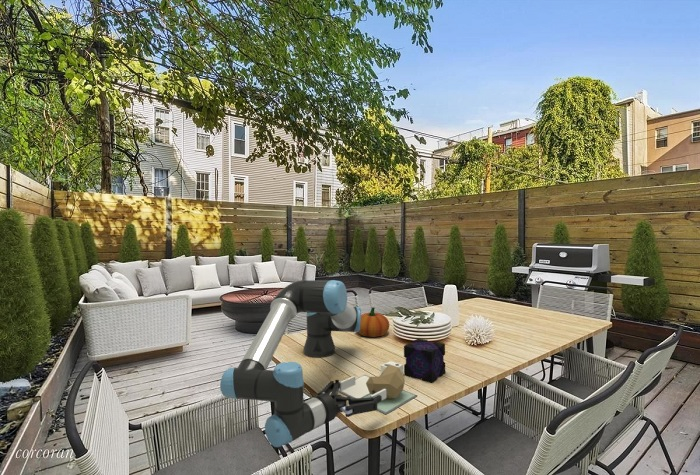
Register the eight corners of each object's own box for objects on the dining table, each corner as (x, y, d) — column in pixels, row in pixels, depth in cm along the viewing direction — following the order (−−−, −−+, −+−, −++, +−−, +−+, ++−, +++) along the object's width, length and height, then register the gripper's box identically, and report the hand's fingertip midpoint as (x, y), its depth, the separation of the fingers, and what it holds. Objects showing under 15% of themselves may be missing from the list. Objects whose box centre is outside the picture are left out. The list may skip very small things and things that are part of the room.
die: (380, 380, 133) (380, 364, 132) (390, 375, 137) (390, 360, 137) (393, 385, 128) (393, 369, 128) (402, 380, 132) (402, 364, 132)
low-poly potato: (405, 388, 125) (379, 369, 129) (415, 369, 119) (387, 350, 124) (386, 417, 113) (358, 395, 118) (396, 397, 108) (366, 375, 112)
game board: (333, 389, 125) (333, 388, 125) (365, 375, 137) (365, 374, 137) (385, 414, 107) (385, 413, 107) (417, 396, 119) (417, 395, 119)
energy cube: (418, 366, 146) (418, 338, 146) (445, 373, 138) (445, 343, 138) (404, 375, 137) (403, 345, 137) (432, 383, 129) (431, 352, 129)
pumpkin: (349, 332, 198) (349, 306, 198) (378, 327, 206) (378, 302, 206) (365, 341, 180) (364, 313, 180) (396, 336, 188) (395, 309, 188)
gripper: (293, 408, 106) (343, 386, 121) (349, 443, 88) (400, 411, 103) (292, 384, 106) (343, 364, 120) (348, 413, 88) (399, 386, 103)
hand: (369, 386), depth 112 cm, fingers open, 13 cm apart
